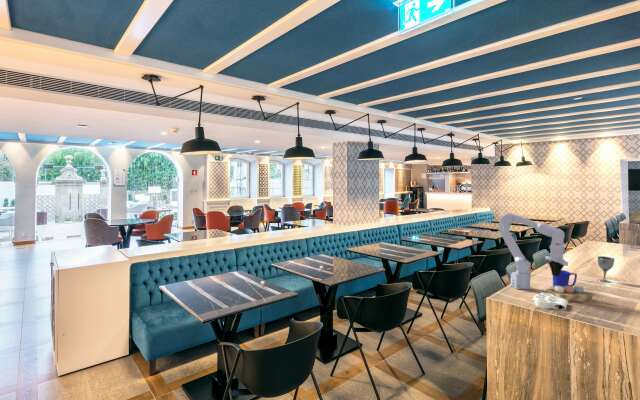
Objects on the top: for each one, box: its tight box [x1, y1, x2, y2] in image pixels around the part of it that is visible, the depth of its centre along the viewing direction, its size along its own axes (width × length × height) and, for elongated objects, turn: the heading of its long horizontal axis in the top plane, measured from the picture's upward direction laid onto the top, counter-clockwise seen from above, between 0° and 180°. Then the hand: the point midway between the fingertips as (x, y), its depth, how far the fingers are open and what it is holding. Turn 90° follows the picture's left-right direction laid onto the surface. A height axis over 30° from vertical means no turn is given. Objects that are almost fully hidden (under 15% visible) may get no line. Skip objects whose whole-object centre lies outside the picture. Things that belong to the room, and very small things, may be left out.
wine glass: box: [597, 255, 615, 284], centre depth 207 cm, size 8×8×15 cm
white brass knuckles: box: [530, 292, 569, 311], centre depth 164 cm, size 3×18×15 cm
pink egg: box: [564, 286, 574, 294], centre depth 173 cm, size 4×4×3 cm
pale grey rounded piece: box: [553, 286, 564, 293], centre depth 173 cm, size 4×4×3 cm
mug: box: [552, 269, 578, 288], centre depth 189 cm, size 8×12×10 cm
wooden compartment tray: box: [545, 288, 593, 303], centre depth 174 cm, size 17×10×3 cm, turn 90°
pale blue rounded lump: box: [573, 285, 585, 294], centre depth 173 cm, size 4×4×3 cm
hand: (555, 275), depth 180 cm, fingers closed
